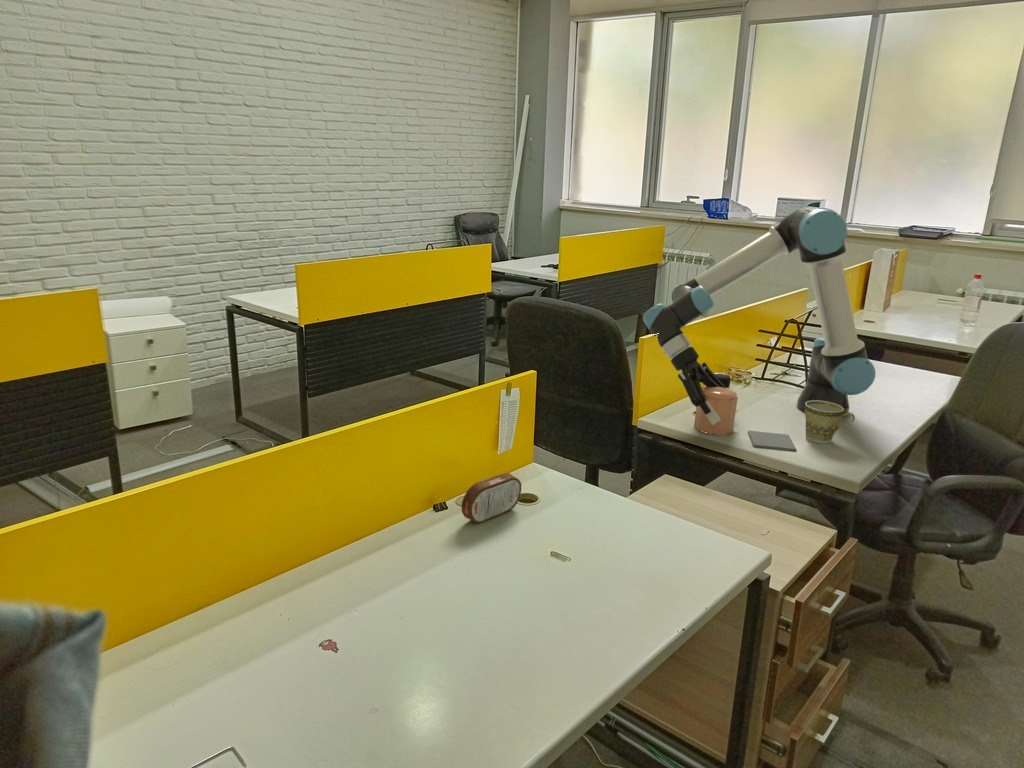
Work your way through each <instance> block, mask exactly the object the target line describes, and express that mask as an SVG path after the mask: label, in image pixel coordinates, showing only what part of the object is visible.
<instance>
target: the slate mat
mask: <svg viewBox="0 0 1024 768" xmlns="http://www.w3.org/2000/svg"><path fill="white" fill-rule="evenodd" d="M747 434H748V437H749V440H750V441H751V442H750V443H752V446H753V448H763V449H772V450H780V451H781V450H782V451H791V452H792V451H793V452H797V448H796V446H795V444H794V442H793V440H792V439H791V436H790V435H789V434H787V433H779V432H778V433H776V432H765V431H764V432H763V431H756V430H747Z"/></svg>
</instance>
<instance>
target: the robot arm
mask: <svg viewBox="0 0 1024 768" xmlns="http://www.w3.org/2000/svg"><path fill="white" fill-rule="evenodd" d="M847 236H848V227H847V223H846V221H845V219H844V218H843V217H842V215H840V214H839V213H837V212H836V211H834V210H833V209H831V208H827V207H826V208H825V207H817V206H813V205H811V206H810V205H809V206H803V207H800V208H798V209H796V210H794V211H793V212H791V213H790V214H788V215H786V216H785V217H783V218H782V219H781V220H779V221H777V222H776V223H773V224H772V225H771V226H769V230H768V232H766V233H764V234H763V235H762V236H760V237H758V238H757V239H755V240H753V241H752V242H750V243H748V244H747V245H745V246H743V247H742V248H740V249H739V250H737V251H735V252H734V253H732V254H731V255H730V256H727V257H726V258H725V259H722V260H721V261H720V262H718V263H716V264H714V265H713V266H712V267H710V268H708V269H706V270H705V271H703V272H702V273H700V274H698V275H696V276H695V277H694V278H692V279H690V280H688V281H687V282H685V283H684V282H683V283H679V284H677V285H676V286H674V288H673V289H672V291H671V294H670V295H671V297H670V298H671V301H672V303H671V304H669V305H667V306H666V305H665V304H664V303H657V304H655V306H652V307H651V308H649V309H648V310H647V311H646V312H645V313H644V314H643V315H642V321H643V322H644V323H645V325H646V327H647V329H648V331H649V332H650V334H652V336H653V334H657V333H659V334H657V335H658V337H657V338H658V342H659V343H658V342H657V343H658V345H659V346H660V348H661V349H662V351H663V353H664V354H665V356H667V358H668V359H669V360H670V363H671V365H672V366H673V368H674V369H675V370H676V371H677V372H678V371H681V372H680V373H679V374H677V377H678V379H679V380H680V381H681V383H682V386H683V387H684V389H685V391H686V393H687V396H688V398H689V399H690V402H691V404H692V405H693V406H694V407H695V408H696V407H697V406H700V407H701V409H702V410H703V412H704V413H705V415H706V416H707V418H708V419H709V421H710V422H711V424H712V425H714V424H716V423H717V422H719V421H720V420H721V419H720V417H719V416H718V414H717V413H716V412H715V410H714V409H713V407H712V406H711V404H710V403H709V401H708V400H707V401H706V400H705V397H704V394H703V391H702V388H703V387H702V386H701V384H703V385H704V387H705V386H706V387H710V386H712V387H722V388H726V387H725V386H724V384H723V383H722V382H721V381H720V380H719V379H718V378H717V377H716V376H715V374H714V373H715V372H713V371H712V370H711V369H710V367H709V366H708V365H707V363H706V362H702V363H701V364H700V363H699V362H698V359H699V358H700V356H699V354H698V352H697V350H696V349H695V348H694V347H693V346H691V345H692V343H691V342H690V340H689V339H688V337H687V336H686V335H685V334H684V332H683V331H682V328H684V327H685V326H686V325H688V324H690V323H692V322H693V321H695V320H696V319H698V318H700V317H701V316H703V315H704V314H707V312H708V311H710V310H711V309H712V308H714V305H715V302H714V300H713V298H712V297H713V296H714V295H716V294H717V293H719V292H721V291H722V290H724V289H725V288H728V287H729V286H731V285H733V284H734V283H736V282H737V281H740V280H741V279H742V278H744V277H746V276H747V275H749V274H751V273H753V272H754V271H756V270H757V269H759V268H761V267H762V266H764V265H765V264H767V263H769V262H771V261H773V260H774V259H776V258H777V257H779V256H781V255H789V254H790V253H792V252H794V251H796V250H798V251H799V252H798V253H799V256H800V261H801V263H802V264H804V266H807V267H808V270H809V275H810V279H811V285H812V290H813V295H814V298H815V302H816V303H815V304H816V307H817V311H818V313H817V314H818V317H819V321H820V326H821V330H822V335H823V337H821V336H819V337H817V338H815V339H814V342H813V344H812V347H811V349H812V350H811V357H810V361H809V368H808V374H807V380H806V383H805V385H804V387H803V389H802V391H801V393H800V394H799V396H798V398H797V402H796V406H797V408H798V410H801V411H802V412H805V403H806V402H807V401H811V400H820V401H827V402H832V403H835V404H838V405H840V406H842V407H843V408H844V411H843V413H846V412H849V411H850V402H849V397H848V396H856V395H859V394H862V393H864V392H866V391H867V390H868V389H869V388H870V387H871V386H872V385H873V383H874V382H875V379H876V369H875V366H874V365H873V363H872V362H871V360H869V358H868V355H867V349H866V345H865V342H864V340H863V341H862V340H861V339H859V338H858V334H857V328H856V323H855V320H854V315H853V310H852V305H851V300H850V296H849V295H850V294H849V291H848V285H847V280H846V279H847V278H846V275H845V270H844V265H843V261H842V260H843V257H844V255H846V253H847V250H846V244H845V241H846V239H847ZM654 336H656V335H654ZM654 336H653V337H654ZM705 401H706V402H705ZM736 412H738V410H737V409H736Z"/></svg>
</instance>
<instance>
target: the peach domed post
mask: <svg viewBox="0 0 1024 768" xmlns="http://www.w3.org/2000/svg"><path fill="white" fill-rule="evenodd" d="M701 388H702V391H703V394H704V397H705V400H706V401H707V400H708V401H709V403H710V404H711V406H712V407H713V409H714V410H715V412H716V413H717V414H718V416H719V417H720V419H721V420H720V421H719V422H717V423H716V424H714V425H712V424H711V422H710V421H709V419H708V418H707V416H706V415H705V413H704V412H703V410H702V409H701V407H700V406H697V407H695V414H694V415H695V416H694V423H693V426H694V428H695V429H696V430H697V429H698V430H699V432H701V431H703V432H702V433H704V432H707V433H706V434H708V433H710V434H709V435H711V434H716V435H715V436H727V435H729V434H731V433H732V432H733V431H734V425H735V418H736V413H737V411H736V410H737V405H738V399H739V398H738V396H737V391H734V390H732V389H730V388H729V389H727V388H722V387H712V386H710V387H705V386H703V387H701ZM706 401H705V402H706Z"/></svg>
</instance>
